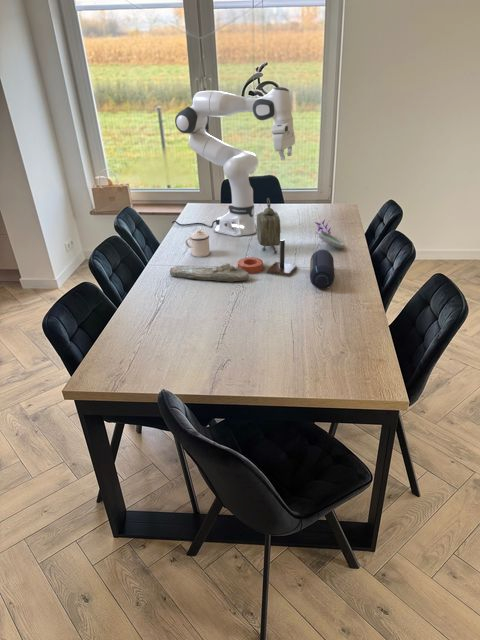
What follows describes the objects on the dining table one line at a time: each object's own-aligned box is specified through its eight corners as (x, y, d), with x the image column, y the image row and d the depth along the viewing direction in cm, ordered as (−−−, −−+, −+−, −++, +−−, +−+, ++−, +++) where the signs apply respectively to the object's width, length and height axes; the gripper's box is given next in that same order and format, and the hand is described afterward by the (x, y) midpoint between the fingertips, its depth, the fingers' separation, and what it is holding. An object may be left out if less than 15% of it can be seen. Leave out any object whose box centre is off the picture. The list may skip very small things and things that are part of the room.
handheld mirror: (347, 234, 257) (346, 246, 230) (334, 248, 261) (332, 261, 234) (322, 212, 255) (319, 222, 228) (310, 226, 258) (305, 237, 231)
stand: (267, 273, 213) (267, 242, 206) (275, 265, 221) (275, 235, 214) (288, 276, 210) (289, 245, 203) (296, 268, 218) (297, 237, 210)
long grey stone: (175, 272, 218) (167, 282, 210) (173, 261, 215) (165, 271, 207) (251, 273, 211) (246, 284, 203) (250, 262, 208) (245, 272, 200)
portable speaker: (310, 267, 218) (311, 246, 213) (332, 268, 217) (333, 246, 212) (309, 291, 197) (310, 268, 192) (334, 292, 196) (335, 269, 191)
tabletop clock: (280, 255, 231) (280, 202, 218) (261, 256, 230) (260, 203, 217) (274, 244, 244) (274, 193, 230) (256, 245, 242) (255, 194, 229)
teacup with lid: (213, 251, 236) (211, 227, 230) (206, 258, 229) (204, 234, 223) (190, 249, 239) (188, 225, 233) (182, 255, 232) (180, 231, 226)
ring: (233, 271, 215) (233, 264, 214) (244, 262, 224) (243, 255, 222) (257, 275, 212) (257, 268, 210) (266, 265, 220) (266, 259, 219)
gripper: (284, 123, 235) (287, 154, 242) (269, 130, 219) (272, 162, 226) (297, 122, 233) (299, 153, 240) (282, 129, 217) (285, 161, 224)
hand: (286, 157), depth 233 cm, fingers open, 8 cm apart
